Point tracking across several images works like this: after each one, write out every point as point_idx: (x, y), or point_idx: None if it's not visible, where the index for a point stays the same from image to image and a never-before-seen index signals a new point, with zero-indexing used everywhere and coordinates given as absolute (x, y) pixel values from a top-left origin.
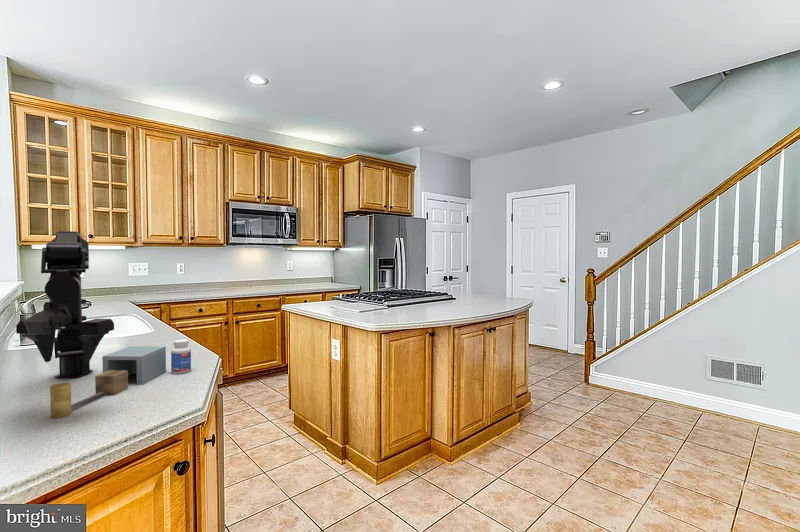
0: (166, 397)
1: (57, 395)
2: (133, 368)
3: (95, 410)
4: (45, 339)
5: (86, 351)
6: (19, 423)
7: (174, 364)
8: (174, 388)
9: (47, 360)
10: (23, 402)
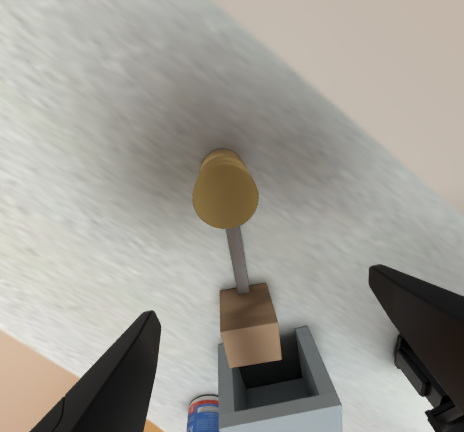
0: (84, 310)
1: (207, 166)
2: (302, 390)
3: (166, 215)
4: None
5: (84, 381)
6: (278, 97)
7: (206, 421)
8: None
9: (374, 274)
10: (398, 208)
